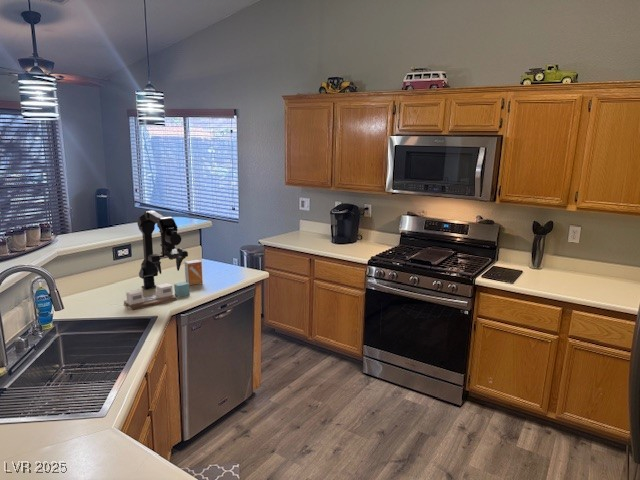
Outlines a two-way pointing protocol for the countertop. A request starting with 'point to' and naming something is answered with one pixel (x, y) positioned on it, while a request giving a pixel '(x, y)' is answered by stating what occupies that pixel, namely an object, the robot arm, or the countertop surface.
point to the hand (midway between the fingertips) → (169, 272)
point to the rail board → (150, 302)
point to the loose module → (181, 289)
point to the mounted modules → (137, 295)
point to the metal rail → (149, 299)
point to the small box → (193, 272)
